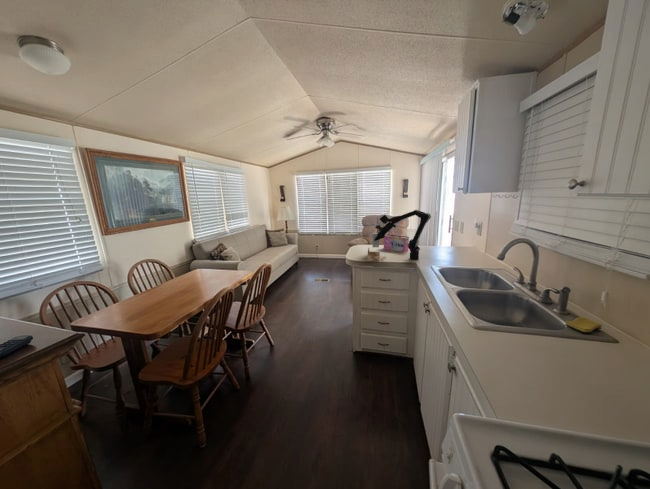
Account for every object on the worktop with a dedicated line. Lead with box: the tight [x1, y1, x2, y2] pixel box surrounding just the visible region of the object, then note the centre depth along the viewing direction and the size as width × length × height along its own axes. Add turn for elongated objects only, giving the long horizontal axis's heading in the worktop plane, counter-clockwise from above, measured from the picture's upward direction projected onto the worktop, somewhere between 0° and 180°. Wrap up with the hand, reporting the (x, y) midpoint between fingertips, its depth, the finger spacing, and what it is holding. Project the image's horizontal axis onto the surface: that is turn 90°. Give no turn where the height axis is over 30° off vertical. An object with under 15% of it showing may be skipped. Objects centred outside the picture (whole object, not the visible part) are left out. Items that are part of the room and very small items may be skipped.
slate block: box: [372, 232, 380, 248], centre depth 217 cm, size 6×6×12 cm
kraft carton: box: [367, 247, 388, 262], centre depth 204 cm, size 16×15×8 cm
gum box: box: [383, 233, 410, 253], centre depth 235 cm, size 24×8×14 cm, turn 45°
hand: (374, 240), depth 217 cm, fingers closed on slate block, 5 cm apart
